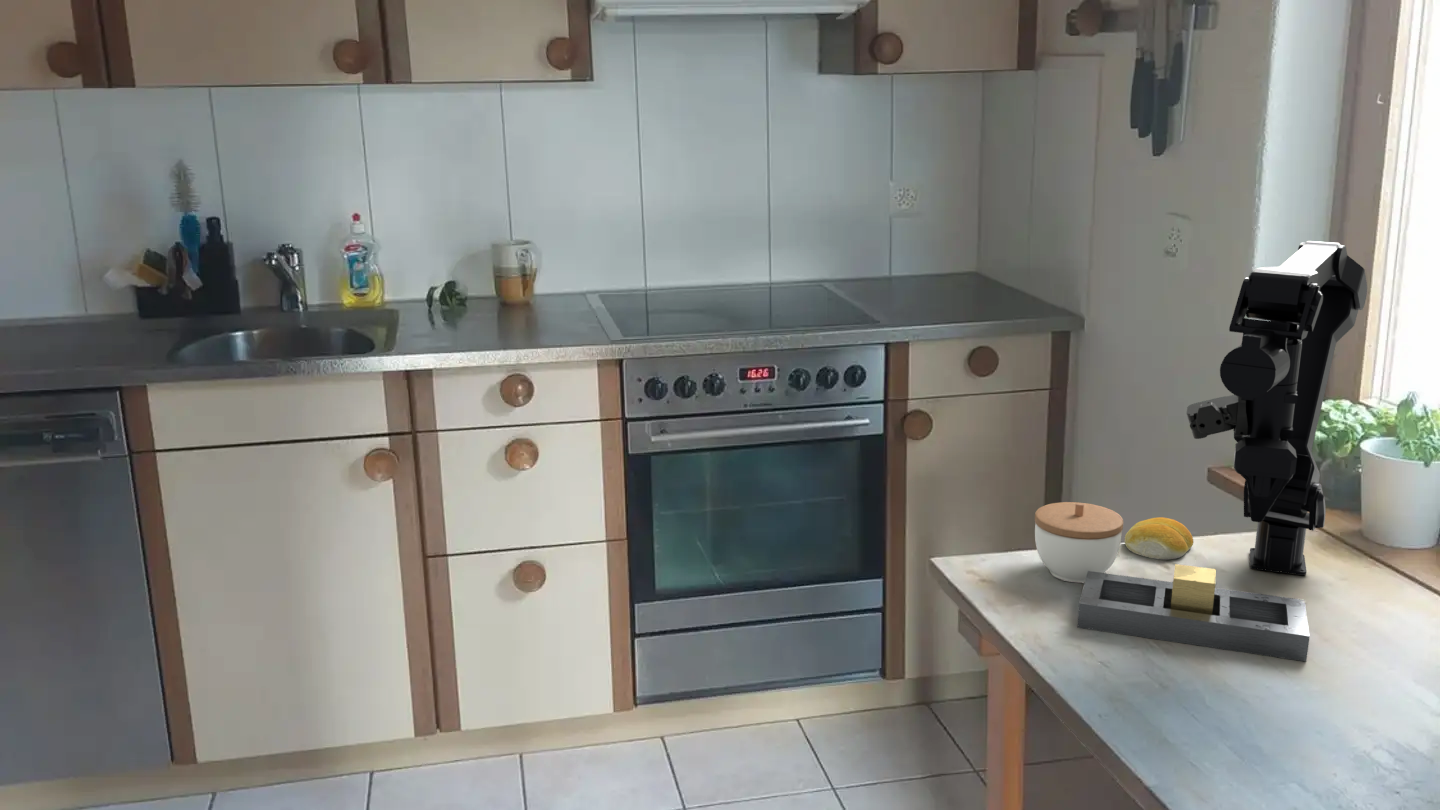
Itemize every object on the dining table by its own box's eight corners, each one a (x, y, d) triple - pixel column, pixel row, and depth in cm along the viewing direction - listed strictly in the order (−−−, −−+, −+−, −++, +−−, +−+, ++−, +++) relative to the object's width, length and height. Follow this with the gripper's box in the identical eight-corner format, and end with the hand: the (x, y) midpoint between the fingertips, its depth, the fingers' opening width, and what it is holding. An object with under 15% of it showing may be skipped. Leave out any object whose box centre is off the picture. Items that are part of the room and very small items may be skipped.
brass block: (1210, 621, 144) (1215, 569, 142) (1209, 637, 140) (1215, 583, 138) (1170, 615, 145) (1175, 564, 144) (1168, 630, 141) (1173, 578, 140)
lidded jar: (1101, 555, 163) (1106, 488, 160) (1132, 589, 152) (1138, 517, 150) (1020, 558, 162) (1024, 490, 160) (1046, 592, 152) (1051, 520, 149)
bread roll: (1198, 544, 167) (1200, 516, 166) (1179, 566, 160) (1182, 537, 159) (1136, 531, 171) (1138, 504, 170) (1115, 552, 164) (1118, 524, 163)
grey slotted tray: (1086, 593, 151) (1087, 570, 150) (1301, 623, 143) (1304, 599, 142) (1077, 627, 142) (1078, 603, 142) (1306, 661, 134) (1309, 636, 133)
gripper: (1196, 356, 152) (1184, 476, 156) (1192, 393, 136) (1179, 526, 140) (1295, 363, 148) (1281, 486, 152) (1304, 402, 132) (1287, 539, 136)
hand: (1255, 508), depth 145 cm, fingers open, 9 cm apart
